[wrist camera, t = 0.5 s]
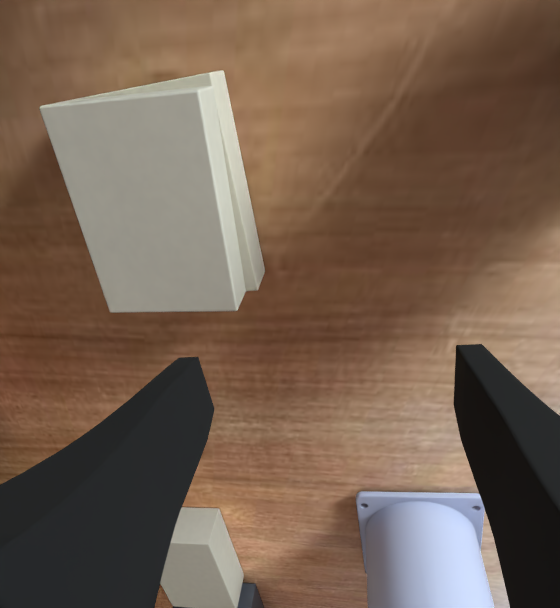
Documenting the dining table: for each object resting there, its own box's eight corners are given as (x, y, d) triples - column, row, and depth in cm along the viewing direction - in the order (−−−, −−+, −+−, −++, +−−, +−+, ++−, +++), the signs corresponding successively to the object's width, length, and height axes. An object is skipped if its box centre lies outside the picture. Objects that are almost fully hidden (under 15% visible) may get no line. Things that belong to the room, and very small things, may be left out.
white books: (266, 271, 22) (251, 311, 18) (146, 282, 23) (112, 321, 20) (224, 69, 17) (195, 75, 14) (80, 98, 19) (22, 109, 15)
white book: (244, 574, 37) (236, 611, 34) (184, 571, 38) (172, 606, 35) (219, 507, 32) (208, 544, 30) (151, 506, 33) (136, 541, 31)
